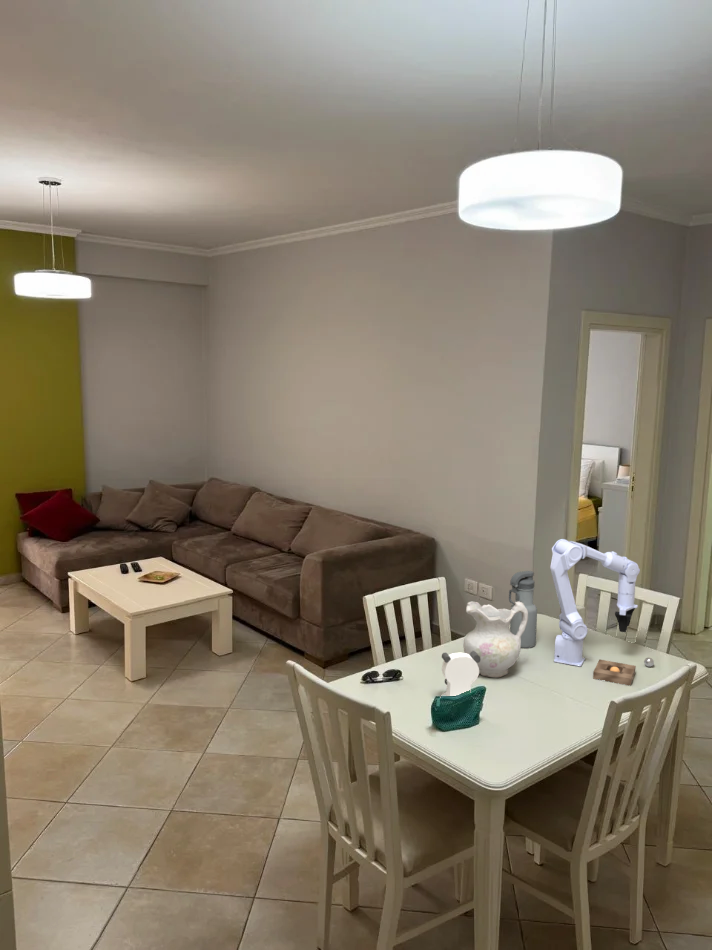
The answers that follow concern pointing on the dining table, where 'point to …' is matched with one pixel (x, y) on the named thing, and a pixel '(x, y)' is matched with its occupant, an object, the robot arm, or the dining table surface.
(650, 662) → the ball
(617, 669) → the ball
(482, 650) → the ceramic pitcher
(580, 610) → the skincare box
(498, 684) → the dining table surface
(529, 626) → the water bottle
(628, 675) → the hole plate
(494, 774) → the dining table surface
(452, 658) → the panda figurine
